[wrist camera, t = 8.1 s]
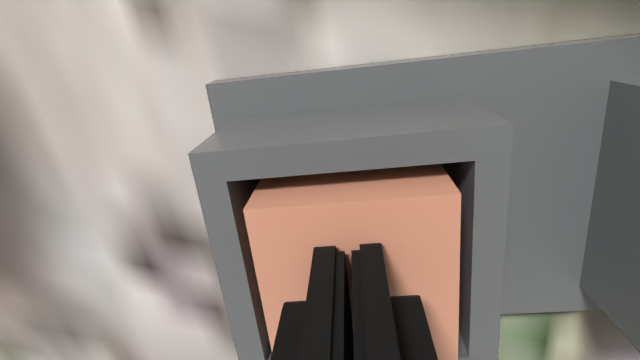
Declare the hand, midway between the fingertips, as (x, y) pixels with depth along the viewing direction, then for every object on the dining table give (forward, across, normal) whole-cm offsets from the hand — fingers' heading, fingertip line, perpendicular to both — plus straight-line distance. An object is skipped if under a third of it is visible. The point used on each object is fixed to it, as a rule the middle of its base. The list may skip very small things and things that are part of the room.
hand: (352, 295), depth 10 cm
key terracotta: (+3, 0, 0) cm, 3 cm away
